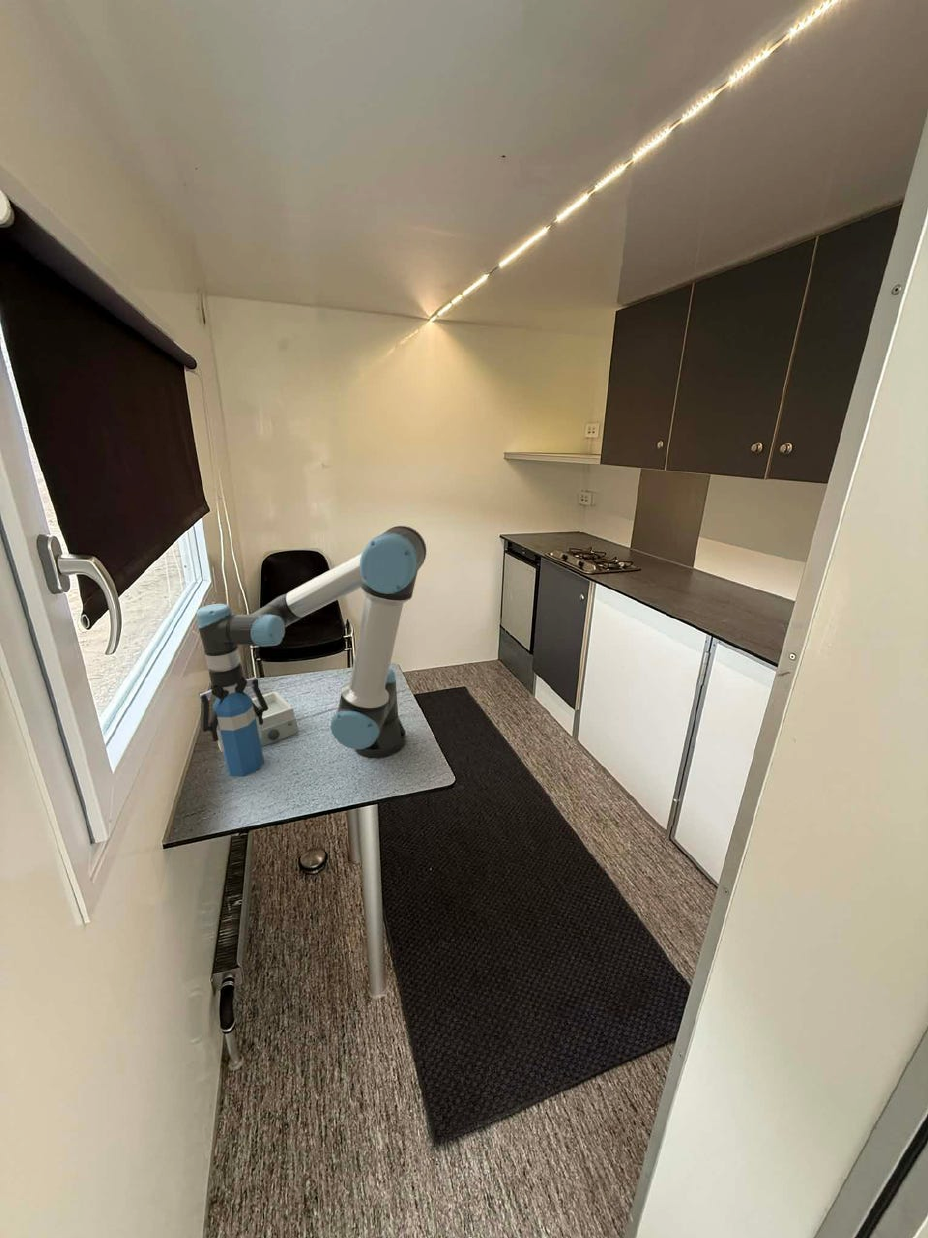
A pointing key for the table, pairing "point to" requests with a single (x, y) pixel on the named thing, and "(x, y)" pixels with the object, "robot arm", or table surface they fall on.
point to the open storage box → (276, 719)
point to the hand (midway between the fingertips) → (240, 742)
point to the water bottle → (239, 733)
